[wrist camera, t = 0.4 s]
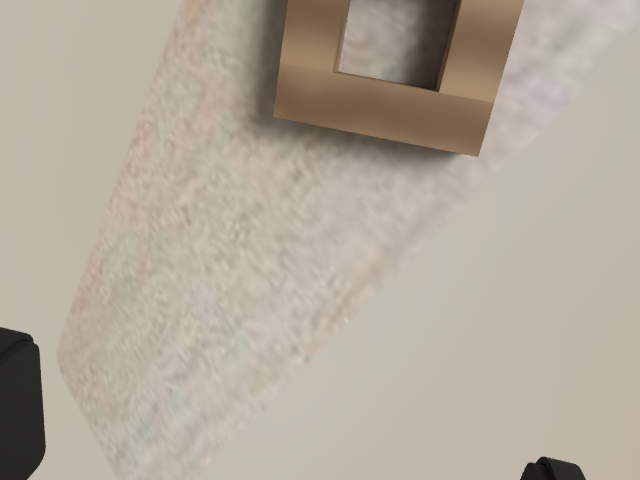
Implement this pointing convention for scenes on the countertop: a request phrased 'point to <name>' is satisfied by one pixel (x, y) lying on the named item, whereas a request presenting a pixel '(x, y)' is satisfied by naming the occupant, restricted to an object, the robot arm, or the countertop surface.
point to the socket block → (390, 97)
